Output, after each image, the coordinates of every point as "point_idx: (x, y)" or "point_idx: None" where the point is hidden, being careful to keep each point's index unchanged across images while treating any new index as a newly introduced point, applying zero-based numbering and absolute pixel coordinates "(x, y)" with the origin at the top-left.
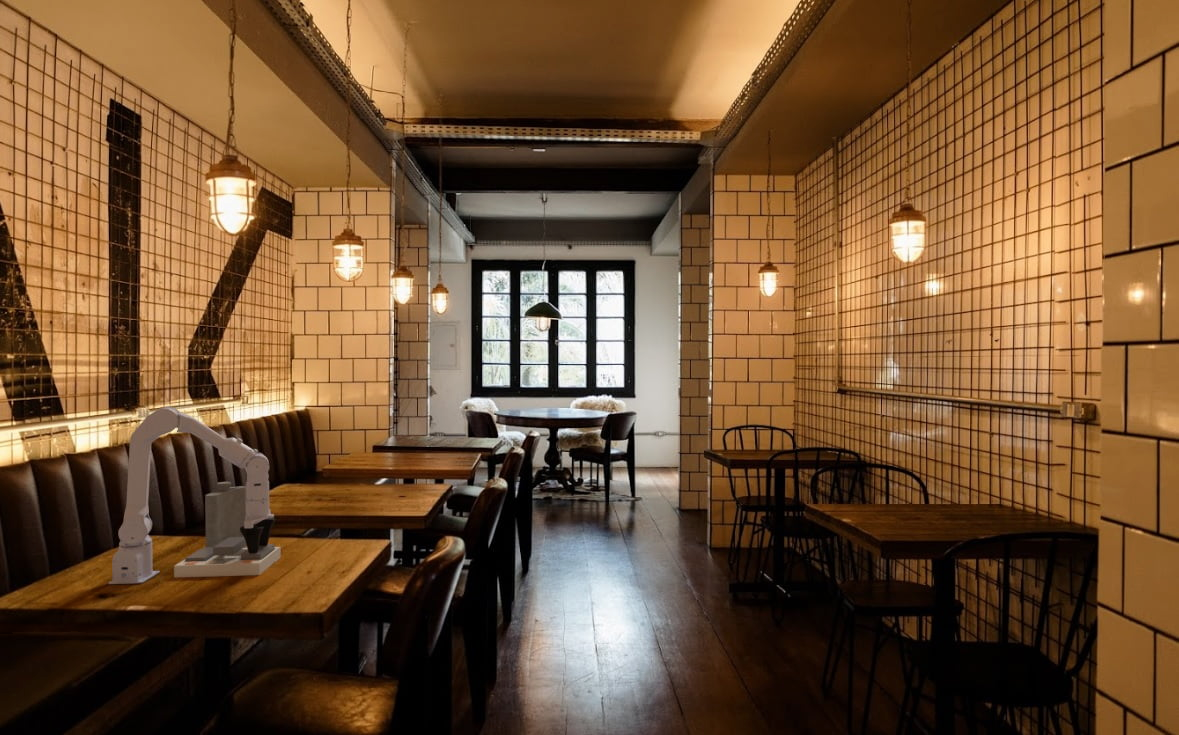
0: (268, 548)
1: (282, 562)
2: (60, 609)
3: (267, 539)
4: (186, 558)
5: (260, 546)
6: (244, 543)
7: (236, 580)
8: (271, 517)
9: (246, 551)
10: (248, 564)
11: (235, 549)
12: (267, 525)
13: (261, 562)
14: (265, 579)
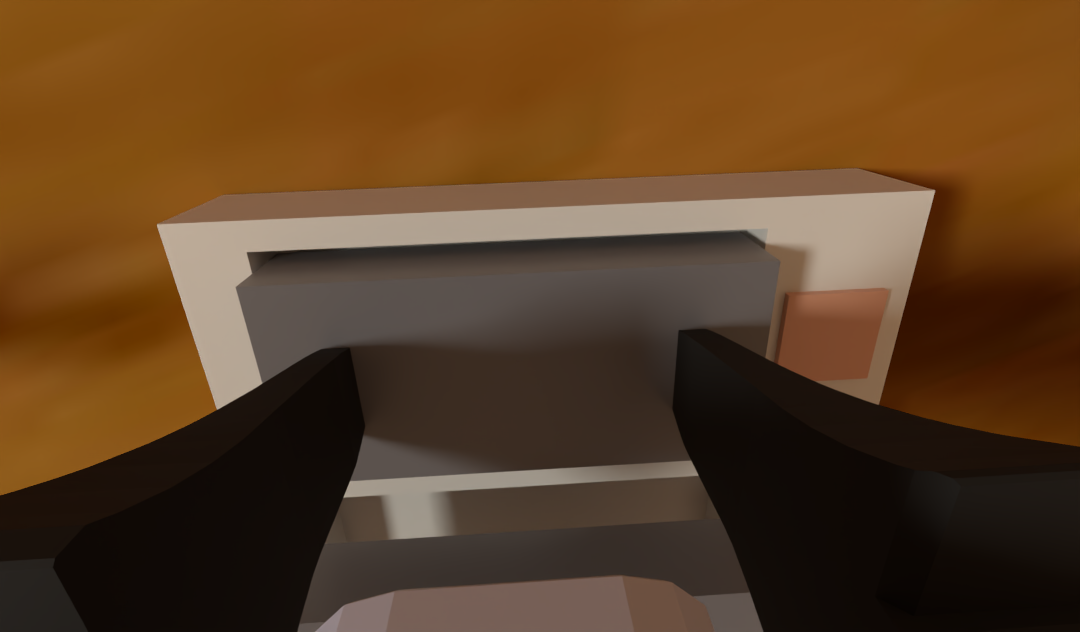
0: (484, 273)
1: (413, 100)
2: None
3: (317, 379)
4: None
5: (391, 401)
6: (417, 571)
7: (962, 300)
8: (685, 610)
9: (619, 455)
10: (902, 298)
11: (686, 554)
12: (208, 548)
13: (858, 192)
14: (1036, 47)
